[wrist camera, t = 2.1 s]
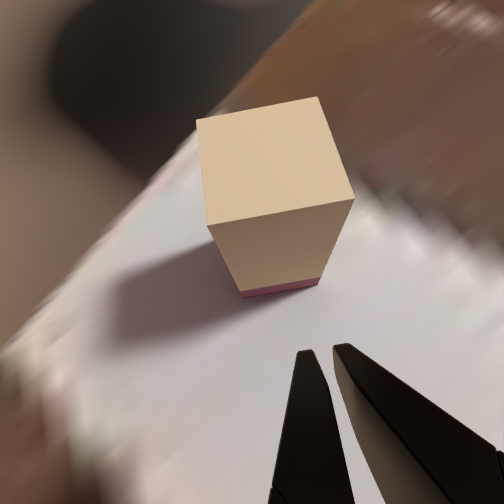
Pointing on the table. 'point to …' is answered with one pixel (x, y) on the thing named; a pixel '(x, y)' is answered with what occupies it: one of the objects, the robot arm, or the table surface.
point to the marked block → (273, 194)
